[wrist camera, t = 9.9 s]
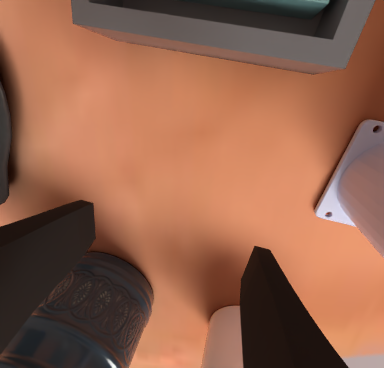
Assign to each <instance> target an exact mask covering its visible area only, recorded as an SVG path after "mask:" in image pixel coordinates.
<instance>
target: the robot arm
mask: <svg viewBox="0 0 384 368" xmlns="http://www.w3.org/2000/svg"><path fill="white" fill-rule="evenodd" d="M377 125H378V126H379V128H378V130H377V131H375V132H373V128H374V127H375V126H377ZM327 212H330V214H328V215H325V214H326V213H327ZM314 213H315V215H316V216H317V217H319V218H323V219H327V220H331V221H335V222H339V223H343V224H347V225H351V226H356V227H357V228H358V229H359V230H360V231H361V232H362V234H363V235H364V236H365V237H366V238H367V239H368V241H369V242H370V243H371V244H372V245H373V246H374V248H375V249H376V250H377V251H378V252H379V253H380V255H381V256H382V257H383V258H384V122H382V121H376V120H371V119H367V120H364V121H363V122H361V123H360V125H359V126H358V128H357V130H356V132H355V134H354V136H353V138H352V140H351V141H350V143H349V145H348V147H347V149H346V151H345V153H344V155H343V157H342V159H341V160H340V162H339V164H338V166H337V168H336V170H335V172H334V174H333V176H332V178H331V179H330V181H329V183H328V185H327V187H326V189H325V191H324V193H323V195H322V197H321V198H320V200H319V202H318V204H317V206H316V208H315V210H314ZM95 238H96V236H95V221H94V205H93V203H91V202H87V201H83V200H79V201H75V202H72V203H69V204H66V205H63V206H60V207H57V208H54V209H52V210H49V211H46V212H43V213H40V214H37V215H34V216H31V217H29V218H26V219H23V220H20V221H17V222H14V223H11V224H7V225H4V226H1V227H0V355H1V354H2V352H3V351H4V350H5V348H6V347H7V346H8V344H9V343H10V342H11V340H12V339H13V338H14V336H15V335H16V334H17V332H18V331H19V330H20V328H21V327H22V326H23V325H24V323H25V322H26V321H27V319H28V318H29V317H30V316H31V314H32V313H33V312H34V311H35V310H36V308H37V307H38V306H39V305H40V304H41V303H42V302H43V301H44V299H45V298H46V297H47V296H48V295H49V294H50V293H51V292H52V291H53V289H54V288H55V287H56V286H57V285H58V284H59V283H60V282H61V281H62V280H63V278H64V277H65V276H66V275H67V274H68V273H69V272H70V271H71V270H72V268H73V267H74V266H75V265H76V264H77V263H78V262H79V261H80V259H81V258H82V257H83V256H84V254H85V253H86V252H87V250H88V249H89V247H90V246H91V244H92V243H93V241H94V240H95ZM240 320H241V338H242V355H243V368H348V366H347V365H346V364H345V362H344V361H343V360H342V359H341V357H340V356H339V355H338V353H337V352H336V351H335V349H334V348H333V347H332V345H331V344H330V343H329V341H328V340H327V339H326V337H325V336H324V334H323V333H322V331H321V330H320V329H319V327H318V326H317V324H316V323H315V321H314V320H313V319H312V317H311V316H310V314H309V313H308V311H307V310H306V308H305V307H304V305H303V304H302V302H301V300H300V299H299V297H298V296H297V294H296V293H295V291H294V289H293V288H292V286H291V285H290V283H289V281H288V280H287V278H286V276H285V275H284V273H283V271H282V270H281V268H280V266H279V264H278V263H277V261H276V259H275V258H274V256H273V254H272V253H271V251H270V250H269V249H265V248H261V247H257V246H254V249H253V251H252V254H251V256H250V259H249V261H248V264H247V266H246V269H245V271H244V274H243V276H242V278H241V289H240Z"/></svg>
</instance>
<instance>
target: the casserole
mask: <svg viewBox="0 0 384 368" xmlns="http://www.w3.org/2000/svg"><path fill="white" fill-rule="evenodd" d="M11 139H12V129H11V116H10V111H9V107H8V103H7V99H6V94H5V91H4V89H3V86H2V83H1V81H0V204H2V203H4V202H5V201H6V199H7V198H8V196H9V184H8V168H7V166H8V160H9V153H10V146H11Z"/></svg>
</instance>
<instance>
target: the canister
mask: <svg viewBox="0 0 384 368" xmlns="http://www.w3.org/2000/svg"><path fill="white" fill-rule="evenodd" d="M152 305H153V293H152V289H151V287H150V285H149V283H148V282H147V280H146V279H145V278H144V277H143V275H142V274H141V273H140V272H139V271H138V270H137V269H135V268H134V267H133V266H131V265H130V264H128V263H127V262H125V261H124V260H122V259H119V258H117V257H115V256H112V255H109V254H105V253H100V252H86V253H85V254H84V256H83V257H82V258H81V259H80V261H79V262H78V263H77V264H76V265H75V266H74V267H73V268H72V270H71V271H70V272H69V273H68V274H67V275H66V276H65V277H64V278H63V280H62V281H61V282H60V283H59V284H58V285H57V286H56V287H55V288H54V289H53V291H52V292H51V293H50V294H49V295H48V296H47V297H46V298H45V299H44V301H43V302H42V303H41V304H40V305H39V306H38V307H37V308H36V310H35V311H34V312H33V313H32V314H31V316H30V317H29V318H28V319H27V321H26V322H25V323H24V325H23V326H22V327H21V328H20V330H19V331H18V332H17V334H16V335H15V336H14V338H13V339H12V340H11V342H10V343H9V344H8V346H7V347H6V348H5V350H4V351H3V352H2V354H1V355H0V368H129V366H130V363H131V361H132V358H133V356H134V353H135V351H136V348H137V345H138V343H139V340H140V338H141V335H142V332H143V330H144V328H145V327H146V325H147V323H148V321H149V318H150V316H151V312H152Z"/></svg>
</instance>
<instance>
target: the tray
mask: <svg viewBox="0 0 384 368" xmlns="http://www.w3.org/2000/svg"><path fill="white" fill-rule="evenodd" d="M374 2H375V0H71V6H72V18H73V24H75V25H78V26H80V27H83V28H85V29H88V30H91V31H93V32H96V33H98V34H101V35H103V36H106V37H109V38H111V39H114V40H116V41H121V42H127V43H133V44H139V45H145V46H151V47H156V48H162V49H168V50H174V51H180V52H186V53H191V54H197V55H203V56H209V57H215V58H220V59H226V60H232V61H238V62H244V63H250V64H255V65H261V66H267V67H273V68H279V69H284V70H290V71H296V72H302V73H308V74H319V73H325V72H330V71H336V70H342V69H345V68H346V66H347V64H348V61H349V59H350V57H351V54H352V52H353V50H354V48H355V45H356V43H357V41H358V39H359V36H360V34H361V32H362V30H363V27H364V25H365V23H366V20H367V18H368V16H369V14H370V11H371V9H372V7H373V5H374Z"/></svg>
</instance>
